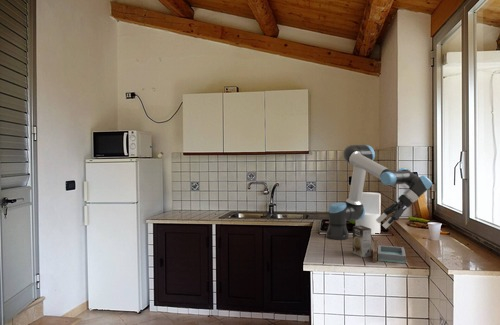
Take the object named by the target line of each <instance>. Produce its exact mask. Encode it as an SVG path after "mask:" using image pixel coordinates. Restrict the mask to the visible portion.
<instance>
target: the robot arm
mask: <svg viewBox="0 0 500 325" xmlns="http://www.w3.org/2000/svg"><path fill="white" fill-rule="evenodd" d="M342 155H343V156H342V157H343V159H344V160H345V162H347V163H348V164H350V165H352V166H353V170H352V174H351V182H350V188H349V193H348V194H349V195H348V198H347V199H345V202H344V201H343V202H341V201H340V202H333V203H331V204H329V207H328V228H327V231H326V234H325V236H326V237H327V239H332V240H341V241H342V240H347V239H349V238H350V234H349V230H348V227H347V222H349V221H350V220H358V219H361V218H362V217H363V216H364V214H365V208H364V205H363V202H362V201H361V198H362V192H364V185H365V181H366V174H367V173H369V174H371V175H373V176H374V177H375V178H377V179H379V180H380V182H381V183H382V184H383V185H385V186H394V185H406V186H408V188H407V189H406V190H405V191H404V192H402V193H403V194H401V195H399V197H398V198H397V200H398V201H397V200H395V202H393V203H392V204H390V205H389V206H388V207H386V208H385V209H383V213H382V214H381V215H380V216H379V217H378V218H377V219H376V221H377V222H378V223H380V224H381V222H382V221H384V220H385V219H386V218H387V217H388V216H389V215H390V214H392V215H390V217H389V218H388V219H387V220H385V221H384V222H383V224H381V226H382V227H383V228H384V229H385V230H386V229H387V228H388V227H390V226H391V225H392V224H393V223H394V222H395V221H398V220H399V219H400V218H401V216H402V215H403V213H404V212H405V211H406V210H407V209H408V208H410V207H412V205H413V203H415V202H417V201H418V199H419V198H420V197H421V196H422V195H424V193H426V191H428V190H429V189H430V188H431V187H432V185H433V182H432V181H431V179H430V178H428V177H427V176H426V175H421V176H418V175H417V174H415V173H414V172H412V171H410V169H408V168H405V167H401V168H399V169H398V170H397V171H396V170H395V171H393V170H391V169H389V168H388V167H386V166H385V165H382V164H379V163H378V162H377V161H374V160H375V157H376V153H375V150H374V148H373V147H372V146H370V145H369V144H350V145H348V146H346V147H345V148H344V150H343V152H342Z"/></svg>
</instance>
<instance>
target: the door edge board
mask: <svg viewBox="0 0 500 325" xmlns="http://www.w3.org/2000/svg"><path fill="white" fill-rule="evenodd" d="M378 245H379V244H378V240H376V239H374V240H373V245H372V246H373V247H372V248H373V249H372V262H373V263H376V262H377V263H378Z"/></svg>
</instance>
